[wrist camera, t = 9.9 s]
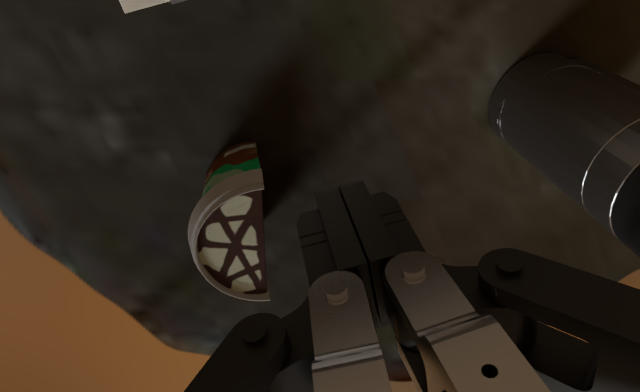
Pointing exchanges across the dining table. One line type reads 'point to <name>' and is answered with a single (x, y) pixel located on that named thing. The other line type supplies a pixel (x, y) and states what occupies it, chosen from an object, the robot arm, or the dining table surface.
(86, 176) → the dining table surface
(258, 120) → the dining table surface
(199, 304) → the dining table surface
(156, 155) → the dining table surface
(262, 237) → the food container
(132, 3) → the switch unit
